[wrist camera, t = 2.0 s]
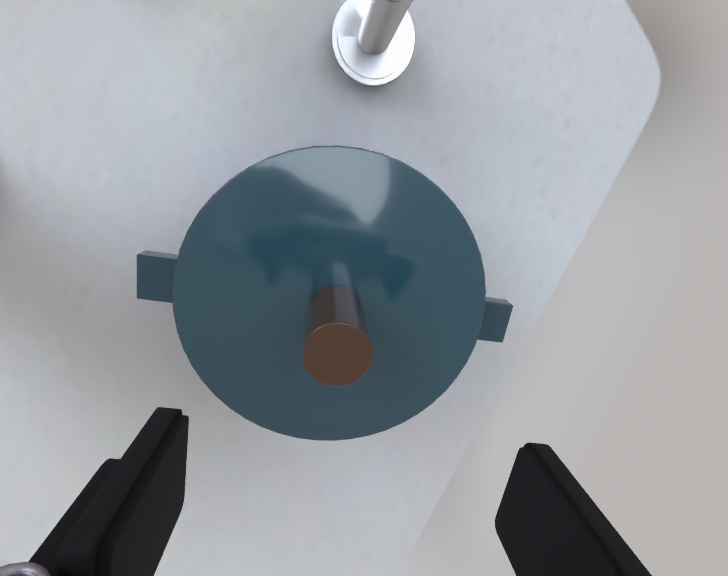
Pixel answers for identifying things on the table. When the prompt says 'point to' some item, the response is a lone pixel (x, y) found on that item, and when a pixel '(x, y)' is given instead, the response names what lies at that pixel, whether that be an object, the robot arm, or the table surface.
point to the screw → (373, 39)
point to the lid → (329, 293)
